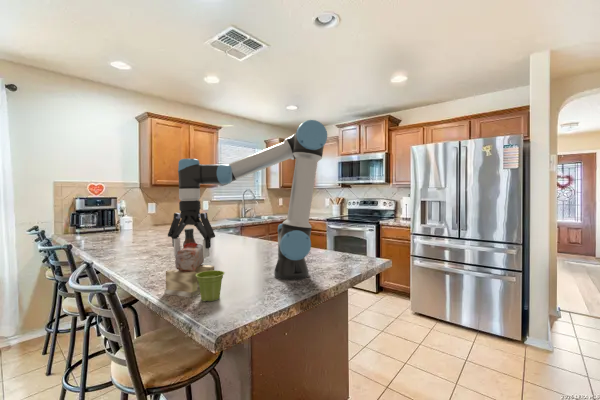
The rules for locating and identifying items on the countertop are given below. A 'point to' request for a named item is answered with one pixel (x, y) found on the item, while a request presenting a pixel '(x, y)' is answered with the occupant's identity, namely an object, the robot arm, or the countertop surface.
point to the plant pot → (210, 284)
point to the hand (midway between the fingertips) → (191, 256)
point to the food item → (189, 257)
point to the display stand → (184, 281)
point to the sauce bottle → (189, 236)
